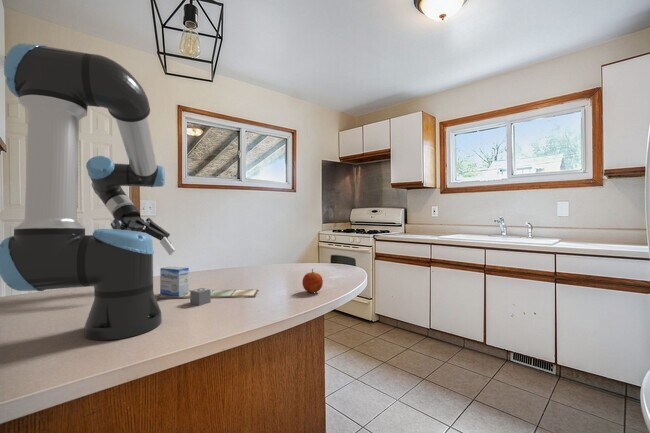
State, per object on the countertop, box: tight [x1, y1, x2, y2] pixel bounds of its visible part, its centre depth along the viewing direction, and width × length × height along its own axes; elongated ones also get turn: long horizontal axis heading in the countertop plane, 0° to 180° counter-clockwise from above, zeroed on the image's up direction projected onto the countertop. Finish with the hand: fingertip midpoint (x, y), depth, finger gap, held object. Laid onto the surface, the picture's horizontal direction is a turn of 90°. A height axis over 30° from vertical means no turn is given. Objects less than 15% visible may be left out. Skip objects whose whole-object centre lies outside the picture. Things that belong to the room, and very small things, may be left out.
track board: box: [155, 288, 260, 300], centre depth 100 cm, size 31×9×1 cm, turn 94°
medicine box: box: [159, 266, 190, 296], centre depth 99 cm, size 8×4×9 cm, turn 72°
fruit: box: [301, 268, 324, 294], centre depth 102 cm, size 7×7×8 cm
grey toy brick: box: [189, 287, 212, 307], centre depth 91 cm, size 4×4×4 cm
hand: (156, 255), depth 102 cm, fingers open, 13 cm apart
